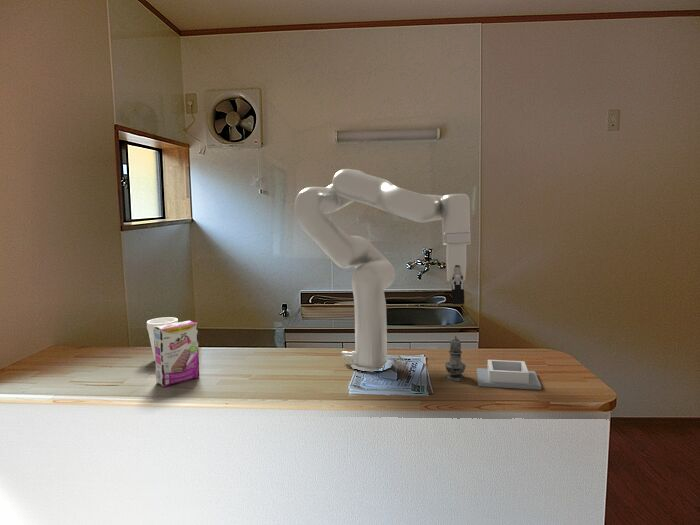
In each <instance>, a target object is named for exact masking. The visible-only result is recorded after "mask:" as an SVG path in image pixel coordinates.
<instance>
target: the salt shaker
mask: <svg viewBox="0 0 700 525" xmlns="http://www.w3.org/2000/svg"><path fill="white" fill-rule="evenodd" d="M461 345H462V342H461V340H460V339H458V338H457V335H455V336H454V338H452V339H451V340H450V343H449V346H450V347H449V351H448V353H449V361H447V362H445V364H444V367H445V370H446V372H447V373H448V374H446V375H445V378H446V379H447V380H448V381H455V382H457V381H458V382H459V381H464V380H465V379H466V377H465V376H464V375H463V373H465V369H466V368H467V365H466V363H463V362H462V353H463V351H462V349H461V348H462V346H461Z"/></svg>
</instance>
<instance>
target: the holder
mask: <svg viewBox="0 0 700 525" xmlns="http://www.w3.org/2000/svg"><path fill="white" fill-rule="evenodd" d="M476 377H477V378H476V380H477V387H487V388H490V387H491V388H502V389H503V388H507V389H525V390H542V384H541V382H540V380H539V377H538V375H537V372H536V371H535V370H528V367H527V365H526V361H523V360H501V359H487V368H484V367H483V368H481V367H478V368H477V367H476Z"/></svg>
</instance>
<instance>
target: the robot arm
mask: <svg viewBox="0 0 700 525" xmlns="http://www.w3.org/2000/svg"><path fill="white" fill-rule="evenodd" d="M470 200H471V199H470V197H469V195H468V194H467V193H450V194H445V195H440V194H438V195H437V194H426V193H425V194H423V193H419V192H415V191H412V190H409V189H405V188H402V187H399V186H397V185H395V184H393V183H392V182H391V181H389V180H388V179H386V178H381V177H378V176H374V175H371V174H367V173H365V172H364V171H362V170H359V169H353V168H352V169H351V168H342V169H340V170H338V171H337V172H336V173H335V174H334V175H333V177H332V180H331V184H329V185H328V186H326V187H325V186H308V187H305V188H304V189H302V190H301V191H299V193H297V196H296V197H295V200H294V207H293V208H294V211H293V212H294V217H295V219H296V222H297V223H298V225H299V227H300V228H301V230H303V232H304V233H305V234H306V235H307V236H308V237H309V238H310V239H311V240H313V242H314V244H316V245H317V247H318V248H320V249H321V250H322V251H323V253H325V254H326V255H327V257H328V258H329V260H331V261H332V262H333V264H335V265H336V266H337V267H339V268H341V269H350V268H354V269H355V270H354V271H353V273H352V276H351V289H352V294H353V304H354V305H353V306H354V307H353V308H354V336H355V337H354V342H355V343H354V345H355V346H354V347H355V348H354V350H352V351H347V350H346V351H344V350H342V351H341V358H343V359H344V360H351V361H350V367H352V369H353V370H354V369H358V370H364V371H374V370H379V369H381V368H383V367H382V366H383V365H384V364H385V363H386V362H387V359H388V347H387V346H388V339H387V337H388V332H387V331H388V327H387V326H388V322H387V302H386V301H387V300H386V296H385V290H386V289H388V288H389V287H390V286H392V285H393V284H394V282H395V278H396V273H395V268H394V266H393V265H392V263H391V262H390V261H389V260H388V259H387V258H386V257H385V256H384V255H383V254H382V253H381V252H380V251H379V250H378V249H377V248H376V247H375V245H374V244H372V242H370V241H368V239H366V238H365V237H362V236H361V235H360V236H359V235H348V234H347V233H346V232H344V231H343V230H342V229H341V228H340V227H339V226H338V224H337V223H336V222H334V221H333V220H332V219H330V218H329V217H328V216H326V215H329V214H332V213H336V212H337V211H339V210H341V209H343V208H345V207H346V206H348V205H351V204H352V203H355V202H357V203H361V204H364V205H367V206H368V207H373V208H376V209H379V210H380V211H384V212H386V213H389V214H392V215H394V216H397V217H401V218H403V219H407V220H410V221H413V222H417V223H424V224H425V223H428V222H435V221H441V223H442V224H441V226H442V227H441V230H442V245H443V246H446V252H445V253H446V254H445V256H446V257H445V258H446V281H448V282H450V281H452V283H451V302H452V303H451V304H452V305H464V304H465V288H464V281H466V274H467V245H471V243H472V242H471V207H470V206H471V204H470Z"/></svg>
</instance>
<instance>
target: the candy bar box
mask: <svg viewBox="0 0 700 525" xmlns="http://www.w3.org/2000/svg"><path fill="white" fill-rule="evenodd" d="M198 326H199V324H198V322H195V321H192V320H185V321H178V323H172V324H166V325H161V326H155V327H154V347H155V360H154V363H155V379H156V380H155V381H156V384H158V385H159V386H161V387H162V388H164V387H168V386H172V385H176V384H179V382H180V383H184V382H187V381H186V380H188V381H191V380H194V379H193V378H195V379H198V378H197V377H199V378H200V359H199V358H200V357H199V356H200V355H199V352H200V351H199V329H198ZM190 379H191V380H190ZM183 381H184V382H183Z"/></svg>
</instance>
